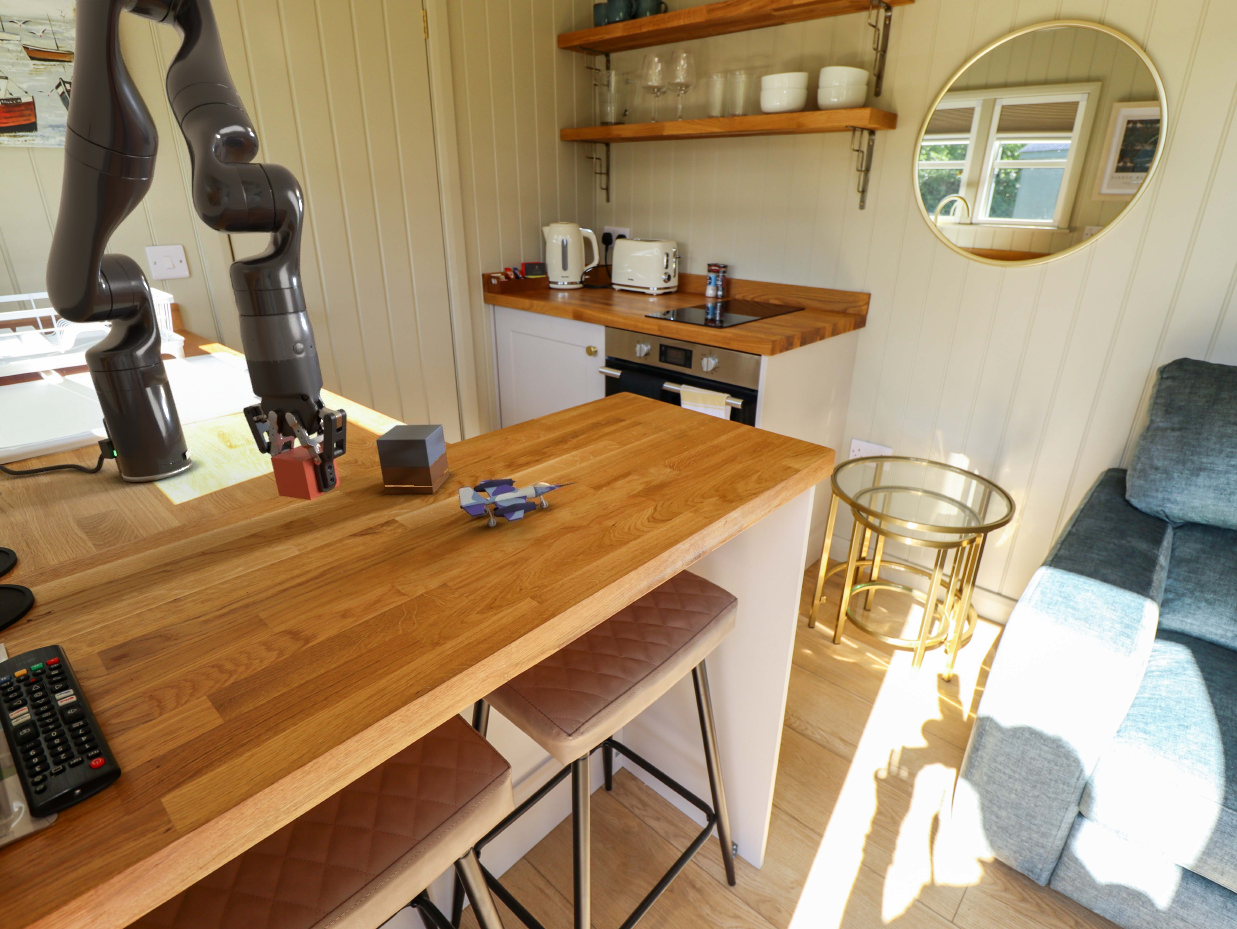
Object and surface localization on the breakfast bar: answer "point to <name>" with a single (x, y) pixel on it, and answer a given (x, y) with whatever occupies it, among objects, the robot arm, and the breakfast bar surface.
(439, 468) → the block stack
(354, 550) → the breakfast bar surface
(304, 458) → the toy block
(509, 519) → the toy airplane
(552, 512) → the breakfast bar surface
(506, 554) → the breakfast bar surface
